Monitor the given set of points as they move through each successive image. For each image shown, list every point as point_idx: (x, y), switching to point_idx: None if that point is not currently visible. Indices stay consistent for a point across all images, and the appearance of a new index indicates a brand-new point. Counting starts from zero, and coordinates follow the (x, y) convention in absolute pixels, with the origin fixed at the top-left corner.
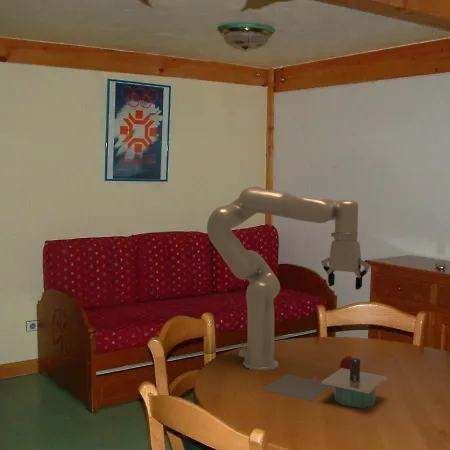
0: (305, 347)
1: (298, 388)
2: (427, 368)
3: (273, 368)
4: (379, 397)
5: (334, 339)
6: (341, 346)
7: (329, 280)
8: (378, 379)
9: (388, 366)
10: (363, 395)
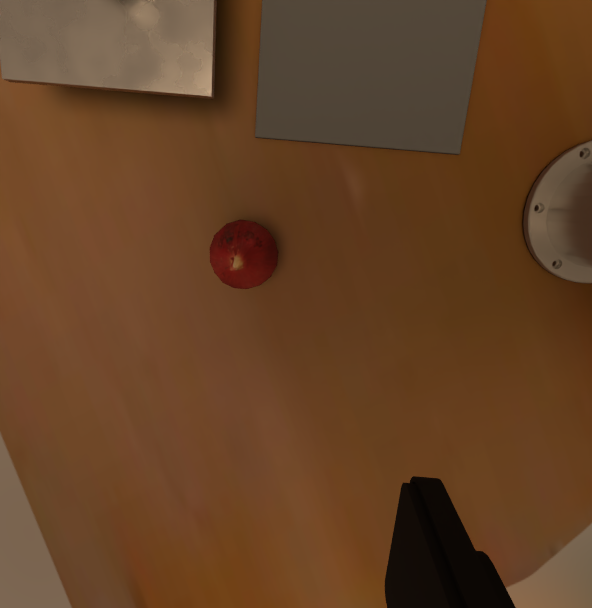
0: (490, 485)
1: (366, 9)
2: (64, 458)
3: (531, 190)
4: (82, 97)
5: None
6: (378, 545)
7: (464, 554)
8: (14, 16)
9: (173, 422)
10: None
